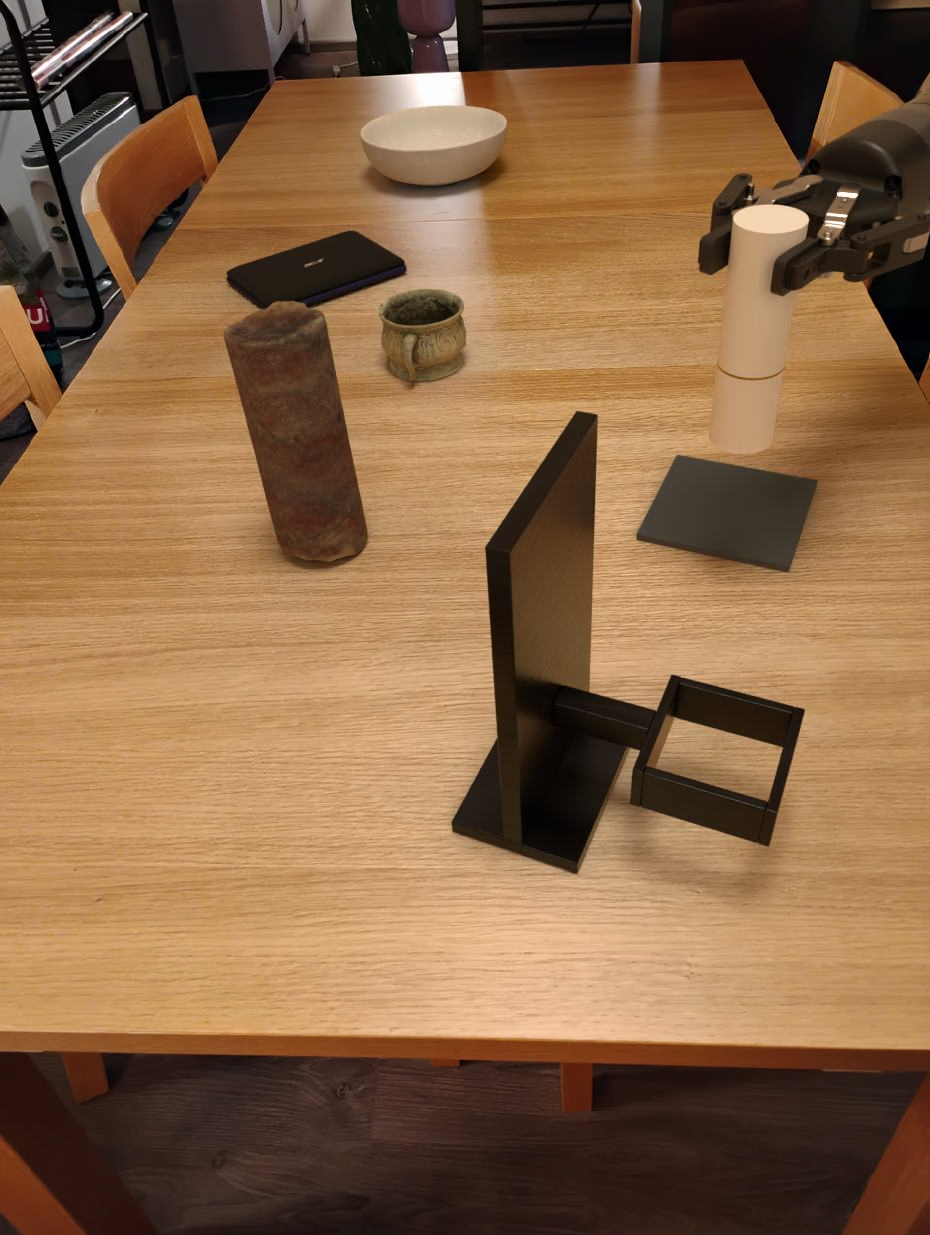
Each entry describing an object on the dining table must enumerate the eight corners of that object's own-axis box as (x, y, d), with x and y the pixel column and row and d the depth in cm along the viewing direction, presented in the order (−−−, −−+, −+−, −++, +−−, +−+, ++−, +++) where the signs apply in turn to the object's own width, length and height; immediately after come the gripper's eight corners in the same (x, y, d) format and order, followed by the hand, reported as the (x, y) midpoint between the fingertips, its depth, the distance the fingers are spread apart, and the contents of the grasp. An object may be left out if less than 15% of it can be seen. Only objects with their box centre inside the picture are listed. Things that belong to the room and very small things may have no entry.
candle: (292, 582, 79) (236, 351, 65) (265, 533, 84) (208, 308, 70) (381, 552, 81) (345, 322, 67) (350, 505, 86) (311, 282, 72)
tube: (768, 458, 66) (804, 235, 56) (703, 449, 68) (727, 230, 57) (776, 424, 69) (812, 206, 59) (714, 416, 71) (739, 202, 60)
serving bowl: (538, 166, 145) (537, 115, 140) (441, 213, 134) (437, 160, 129) (433, 143, 156) (429, 95, 151) (336, 184, 145) (328, 134, 140)
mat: (816, 485, 84) (817, 479, 83) (788, 572, 76) (789, 566, 75) (676, 460, 88) (677, 454, 87) (636, 539, 80) (636, 533, 79)
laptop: (419, 282, 118) (417, 265, 117) (258, 324, 113) (254, 308, 111) (369, 238, 129) (367, 223, 128) (220, 275, 123) (216, 259, 122)
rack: (790, 770, 62) (868, 460, 46) (747, 932, 54) (823, 624, 39) (525, 695, 68) (515, 399, 53) (452, 831, 60) (415, 530, 45)
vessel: (454, 395, 98) (449, 336, 94) (369, 390, 100) (360, 332, 96) (479, 338, 107) (476, 282, 103) (401, 334, 109) (394, 279, 104)
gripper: (795, 101, 68) (644, 179, 60) (1006, 137, 60) (867, 232, 52) (779, 212, 73) (638, 297, 65) (972, 258, 65) (840, 362, 57)
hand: (741, 268), depth 58 cm, fingers closed on tube, 4 cm apart
